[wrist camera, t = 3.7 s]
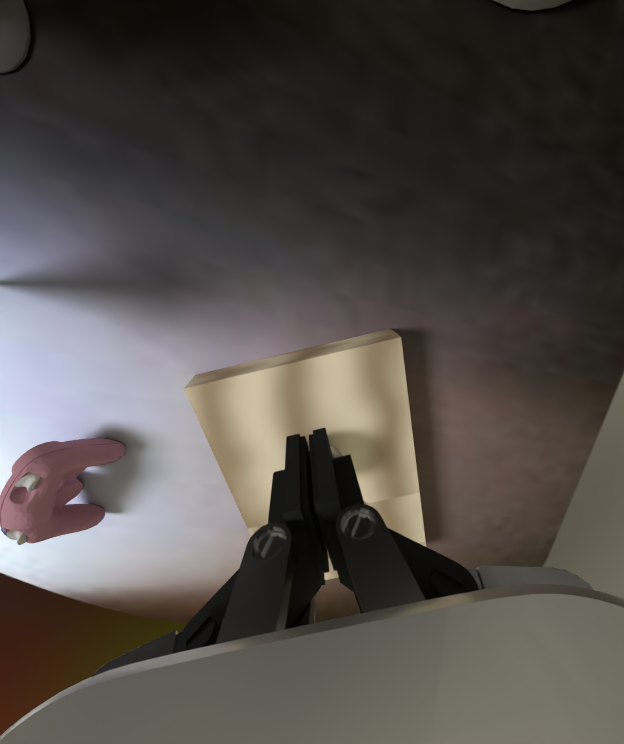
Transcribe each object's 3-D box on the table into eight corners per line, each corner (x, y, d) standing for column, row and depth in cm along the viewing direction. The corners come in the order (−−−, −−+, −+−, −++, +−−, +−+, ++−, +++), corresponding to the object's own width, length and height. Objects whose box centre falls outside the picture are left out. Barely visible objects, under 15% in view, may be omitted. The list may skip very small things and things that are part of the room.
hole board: (390, 328, 22) (401, 337, 20) (418, 537, 32) (427, 559, 29) (195, 375, 23) (183, 388, 21) (277, 565, 32) (275, 589, 30)
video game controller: (100, 416, 26) (-7, 447, 20) (133, 446, 25) (32, 488, 19) (78, 492, 29) (-19, 539, 23) (108, 521, 28) (14, 579, 22)
